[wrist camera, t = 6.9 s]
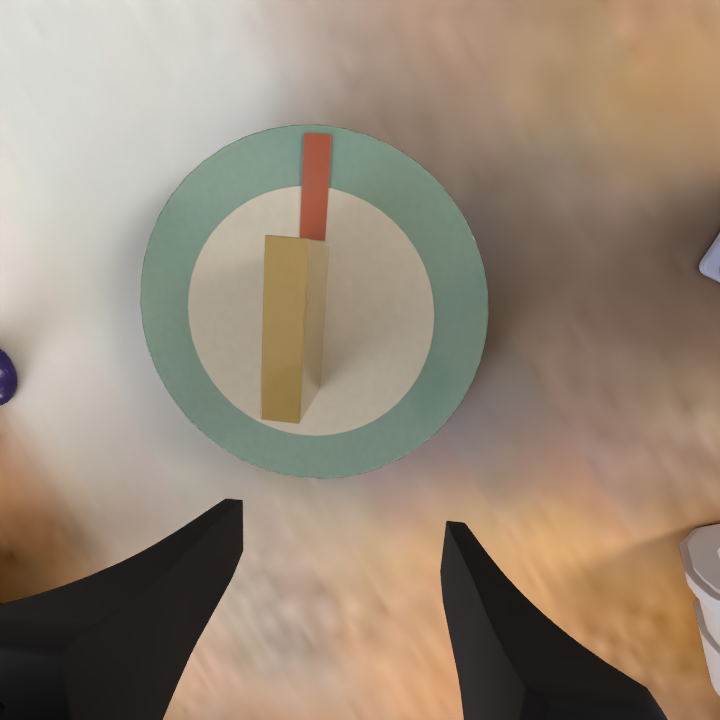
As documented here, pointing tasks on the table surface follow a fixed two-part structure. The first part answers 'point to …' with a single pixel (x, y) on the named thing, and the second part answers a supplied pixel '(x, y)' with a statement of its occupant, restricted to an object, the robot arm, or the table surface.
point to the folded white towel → (705, 590)
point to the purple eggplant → (6, 378)
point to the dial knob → (314, 301)
